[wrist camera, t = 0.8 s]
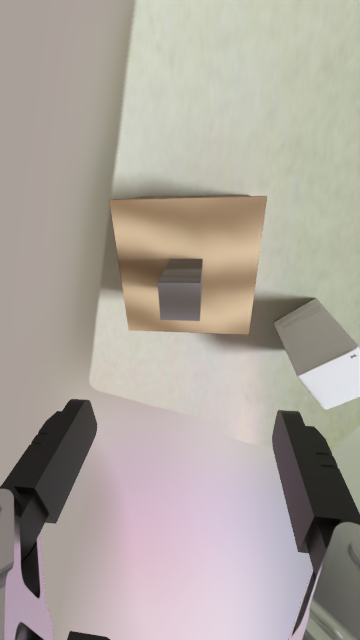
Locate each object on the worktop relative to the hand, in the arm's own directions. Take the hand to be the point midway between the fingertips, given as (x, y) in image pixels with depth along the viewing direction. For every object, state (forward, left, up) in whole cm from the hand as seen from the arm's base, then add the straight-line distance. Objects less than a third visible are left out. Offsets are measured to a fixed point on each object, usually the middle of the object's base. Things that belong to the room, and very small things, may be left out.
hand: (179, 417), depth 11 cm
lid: (0, -1, -19) cm, 19 cm away
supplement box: (+12, +17, -29) cm, 35 cm away
